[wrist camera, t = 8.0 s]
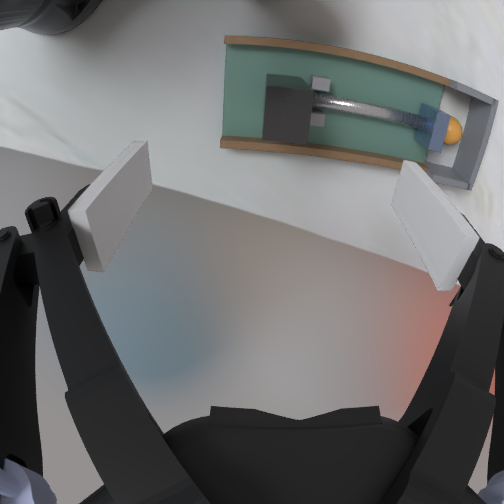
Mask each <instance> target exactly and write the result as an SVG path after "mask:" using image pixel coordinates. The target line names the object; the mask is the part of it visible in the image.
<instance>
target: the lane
mask: <svg viewBox="0 0 504 504" xmlns="http://www.w3.org/2000/svg"><path fill="white" fill-rule="evenodd" d="M224 44H226V61H225V81H224V104H223V132H222V137H221V140H220V148H231V149H246V150H260V151H272V152H282V153H292V154H301V155H310V156H318V157H326V158H333V159H340V160H347V161H354V162H360V163H366V164H372V165H378V166H383V167H389V168H394V169H399V170H401V168H402V164H403V161H404V160H407V161H412V162H416V163H417V164H418V165H419V166H420V167H421V168H422V169H423V170H424V171H425V173H426V171H427V168H428V169H430V168H429V167H428V166H427V165H426V164H425V159H426V156H427V152H428V149H427V148H426V147H425V146H424V145H422V144H421V143H420V142H419V141H418V140H416V139H415V138H414V137H413V136H414V132H415V127H411V126H407V125H403V124H399V123H395V122H391V121H386V120H382V119H377V118H373V117H368V116H363V115H357V114H352V113H347V112H341V111H335V110H328V109H322V108H315V107H312V113H311V120H310V128H309V135H308V141H307V145H306V144H297V143H288V142H278V141H267V140H262V129H263V110H264V98H265V86H266V74H277V75H287V76H296V77H301V78H302V79H303V80H304V81H305V82H306V83H307V84H308V85H309V86H310V87H311V88H312V89H313V90H314V93H320V94H326V95H332V96H338V97H344V98H349V99H355V100H360V101H365V102H369V103H374V104H378V105H383V106H387V107H391V108H395V109H399V110H403V111H407V112H411V113H414V114H418V115H419V111H420V107H421V103H424V104H427V105H431V106H434V107H436V108H437V109H439V106H440V101H441V96H442V92H443V87H444V85H446V86H449V81H450V79H448V78H445V77H442V76H440V75H437V74H434V73H432V72H429V71H426V70H423V69H420V68H417V67H414V66H411V65H408V64H404V63H401V62H398V61H394V60H391V59H387V58H383V57H380V56H376V55H372V54H368V53H363V52H359V51H354V50H350V49H345V48H340V47H335V46H329V45H323V44H317V43H311V42H304V41H296V40H287V39H278V38H266V37H251V36H225V39H224Z"/></svg>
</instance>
